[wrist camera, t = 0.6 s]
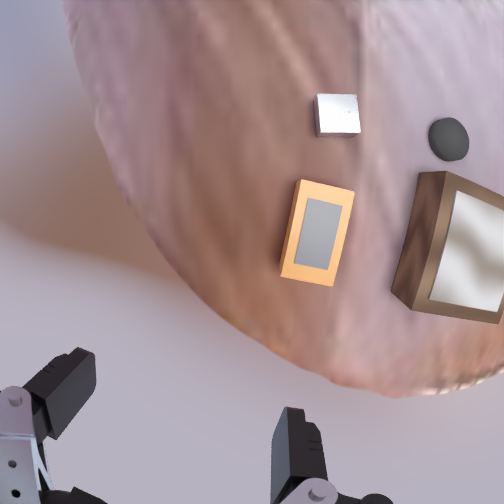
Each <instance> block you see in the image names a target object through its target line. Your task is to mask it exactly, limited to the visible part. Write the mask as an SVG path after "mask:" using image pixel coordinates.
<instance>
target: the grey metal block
mask: <svg viewBox="0 0 504 504" xmlns="http://www.w3.org/2000/svg"><path fill="white" fill-rule="evenodd" d="M313 104H314V113H315V124H316V135H317V137H354V136H356V135H357V134H359V133H361V132H360V122H359V113H358V105H357V97H356V95H349V94H317V95H316V97H315V99H314V101H313Z"/></svg>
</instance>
